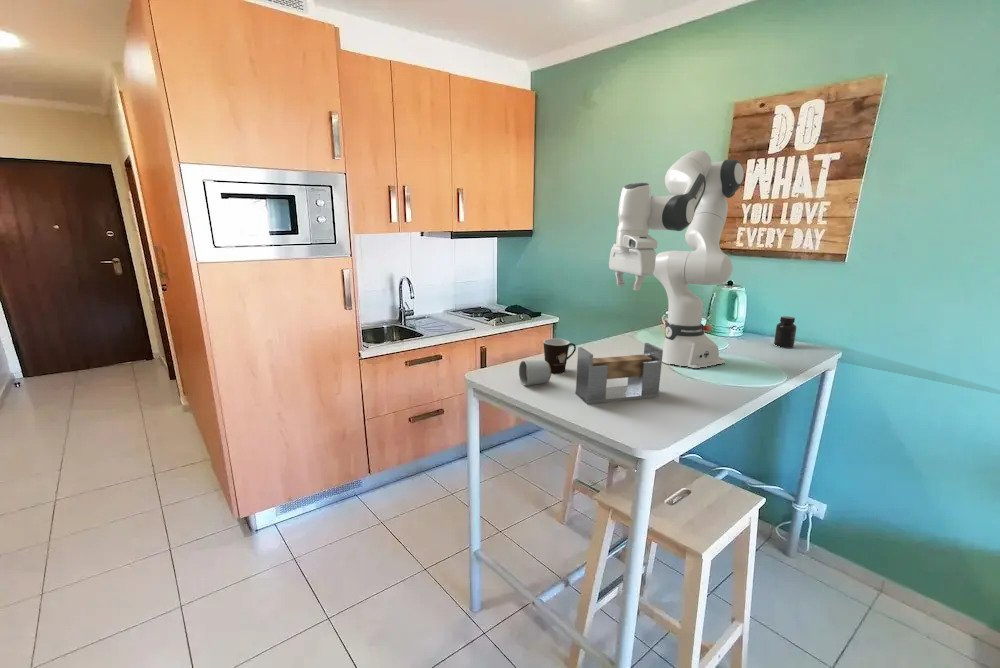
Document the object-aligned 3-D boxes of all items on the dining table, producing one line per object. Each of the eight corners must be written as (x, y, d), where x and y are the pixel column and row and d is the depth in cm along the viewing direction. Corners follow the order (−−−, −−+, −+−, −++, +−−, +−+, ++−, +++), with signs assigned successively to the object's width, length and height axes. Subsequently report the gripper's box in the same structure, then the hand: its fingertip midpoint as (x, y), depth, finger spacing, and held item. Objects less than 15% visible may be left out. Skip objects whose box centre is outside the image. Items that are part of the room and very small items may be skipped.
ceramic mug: (552, 385, 131) (553, 361, 129) (527, 389, 128) (528, 364, 126) (537, 375, 140) (537, 352, 139) (514, 378, 138) (514, 355, 136)
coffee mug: (544, 375, 140) (545, 345, 138) (540, 366, 148) (541, 338, 146) (579, 374, 140) (581, 345, 138) (574, 366, 149) (575, 338, 146)
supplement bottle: (787, 344, 178) (792, 315, 175) (796, 348, 171) (802, 319, 168) (770, 343, 179) (774, 315, 176) (778, 348, 172) (783, 319, 169)
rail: (642, 370, 126) (644, 354, 125) (650, 375, 122) (651, 358, 121) (585, 375, 122) (586, 358, 121) (592, 380, 118) (593, 363, 117)
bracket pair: (643, 387, 130) (647, 342, 126) (658, 397, 122) (663, 350, 119) (575, 393, 125) (577, 347, 121) (587, 404, 117) (590, 355, 114)
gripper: (605, 239, 135) (602, 283, 139) (640, 242, 116) (636, 293, 119) (623, 239, 137) (620, 283, 140) (661, 242, 117) (656, 292, 121)
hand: (628, 288), depth 130 cm, fingers open, 8 cm apart
